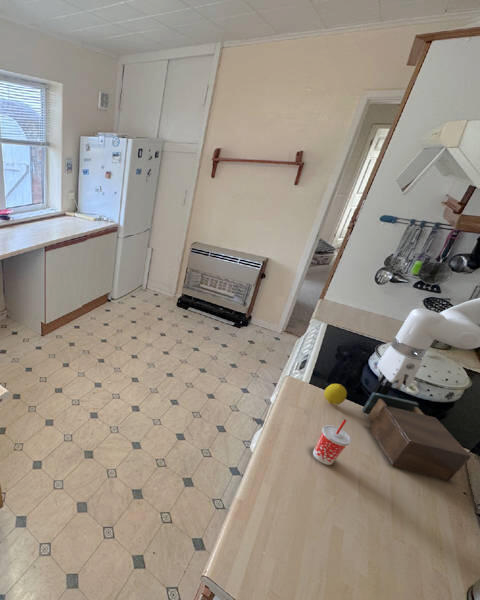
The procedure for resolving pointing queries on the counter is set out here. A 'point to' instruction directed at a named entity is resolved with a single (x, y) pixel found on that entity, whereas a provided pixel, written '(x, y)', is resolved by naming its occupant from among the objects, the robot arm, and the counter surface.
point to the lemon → (335, 393)
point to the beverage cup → (331, 443)
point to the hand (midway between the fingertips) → (379, 393)
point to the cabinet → (418, 443)
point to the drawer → (379, 400)
